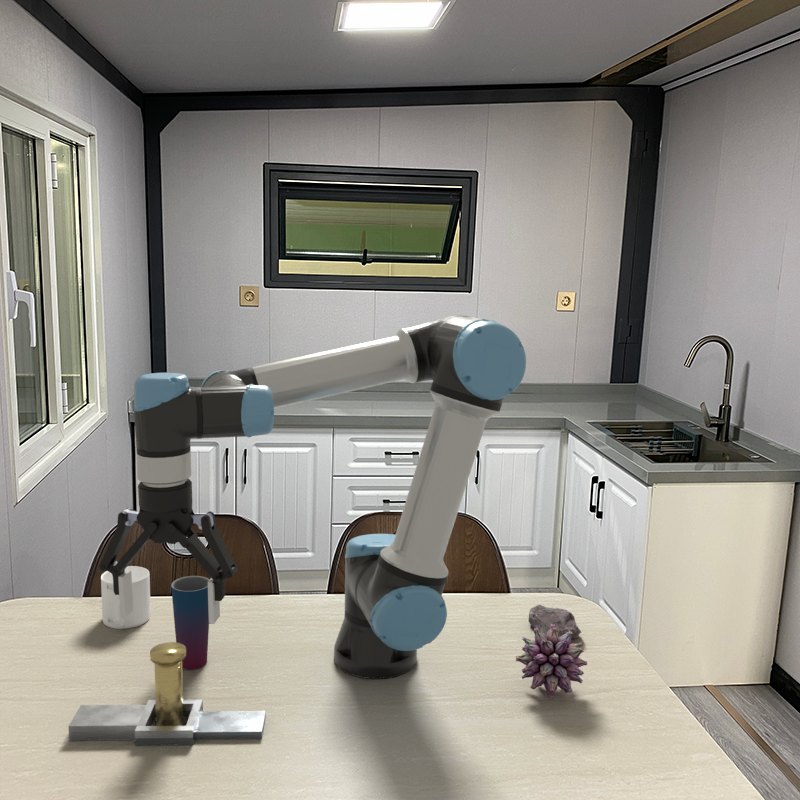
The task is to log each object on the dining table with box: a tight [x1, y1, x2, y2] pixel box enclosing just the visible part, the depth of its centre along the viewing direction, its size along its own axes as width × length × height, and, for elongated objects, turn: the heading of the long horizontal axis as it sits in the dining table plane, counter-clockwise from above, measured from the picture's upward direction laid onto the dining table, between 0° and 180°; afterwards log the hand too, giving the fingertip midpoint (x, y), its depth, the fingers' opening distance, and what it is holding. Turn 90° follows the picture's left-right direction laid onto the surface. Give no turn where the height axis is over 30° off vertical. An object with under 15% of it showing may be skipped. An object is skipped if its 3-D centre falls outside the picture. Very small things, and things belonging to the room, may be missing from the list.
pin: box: [149, 641, 186, 726], centre depth 121 cm, size 5×5×13 cm
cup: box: [170, 575, 211, 671], centre depth 141 cm, size 7×7×15 cm
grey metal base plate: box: [67, 698, 267, 747], centre depth 122 cm, size 28×8×2 cm, turn 94°
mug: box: [100, 565, 151, 630], centre depth 156 cm, size 12×9×9 cm
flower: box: [515, 624, 588, 699], centre depth 135 cm, size 12×12×12 cm
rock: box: [528, 604, 582, 640], centre depth 158 cm, size 8×11×5 cm
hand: (170, 617), depth 119 cm, fingers open, 13 cm apart
